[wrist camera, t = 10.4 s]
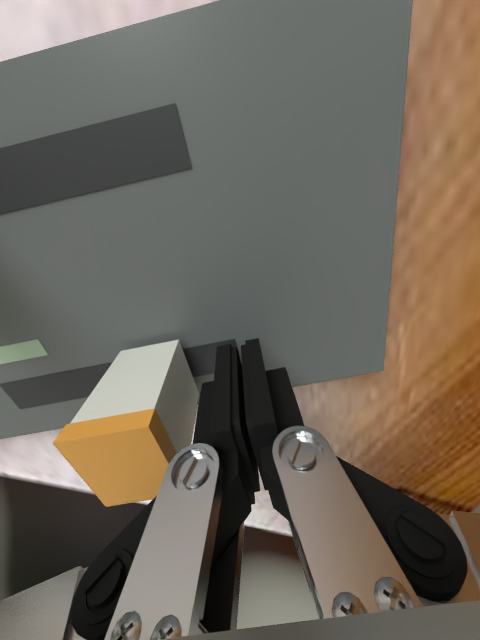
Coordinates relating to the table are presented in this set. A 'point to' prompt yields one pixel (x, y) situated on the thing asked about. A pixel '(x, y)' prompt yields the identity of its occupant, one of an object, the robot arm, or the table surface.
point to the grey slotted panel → (200, 196)
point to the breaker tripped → (133, 424)
